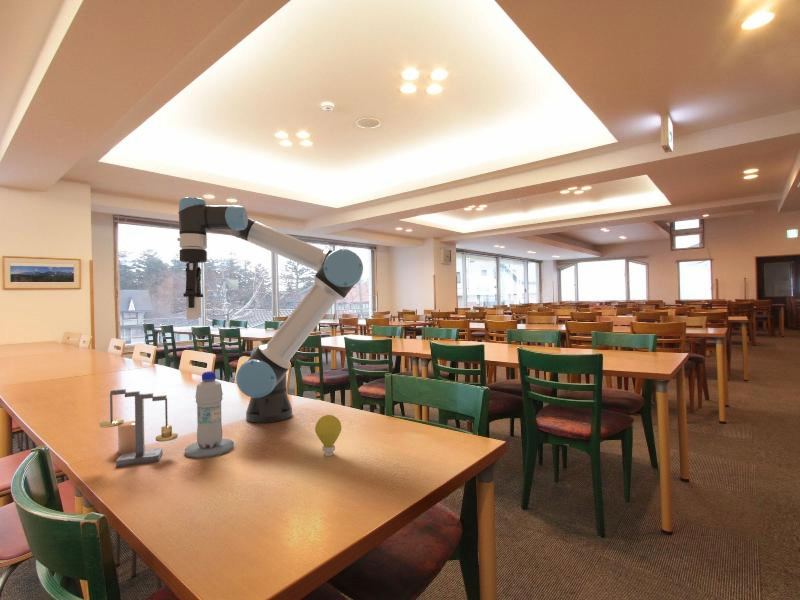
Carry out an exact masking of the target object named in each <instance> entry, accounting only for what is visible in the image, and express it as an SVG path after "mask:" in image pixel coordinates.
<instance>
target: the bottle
mask: <svg viewBox="0 0 800 600" xmlns="http://www.w3.org/2000/svg"><path fill="white" fill-rule="evenodd" d="M216 378H217V377H216V373H215V372H214V371H204V372H203V373H202V375H201V382H199V383H198V384H197V385H196V390H195V397H194V398H195V403H196V405H197V406H196V407H197V408H196V409H197V411H196V413H197V415H196V416H197V418H196V419H197V422H196V423H197V428H196V442H197V444H198V446H199V447H202V448H204V449H205V448H206V446H207V445H209V446H210V448H213V446H214V444H215V446H218V445H219V444H220V443H221V441H222V439H223V426H222V424H223V423H222V400H223V399H224V398H223V395H224V394H223V390H222V389H223V388H222V382H220V381H218V380H216Z"/></svg>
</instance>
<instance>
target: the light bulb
mask: <svg viewBox="0 0 800 600" xmlns="http://www.w3.org/2000/svg"><path fill="white" fill-rule="evenodd" d="M314 431H315V434H316V435H317V439H318V440H319V441H320V442H321V443H322V444H323V445H322V452H323V454H324V456H326V457H329V456H333V455H334V451H336V445H335V443H336V442H337V440H338V438H339V436H340V433H341V431H342V424H341V421H340V419H339V418H338V417H336V416H335V415H333V414H326V415H323V416H321V417H320V418H319V419H318V420H317V422H316V424H315V427H314Z"/></svg>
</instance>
